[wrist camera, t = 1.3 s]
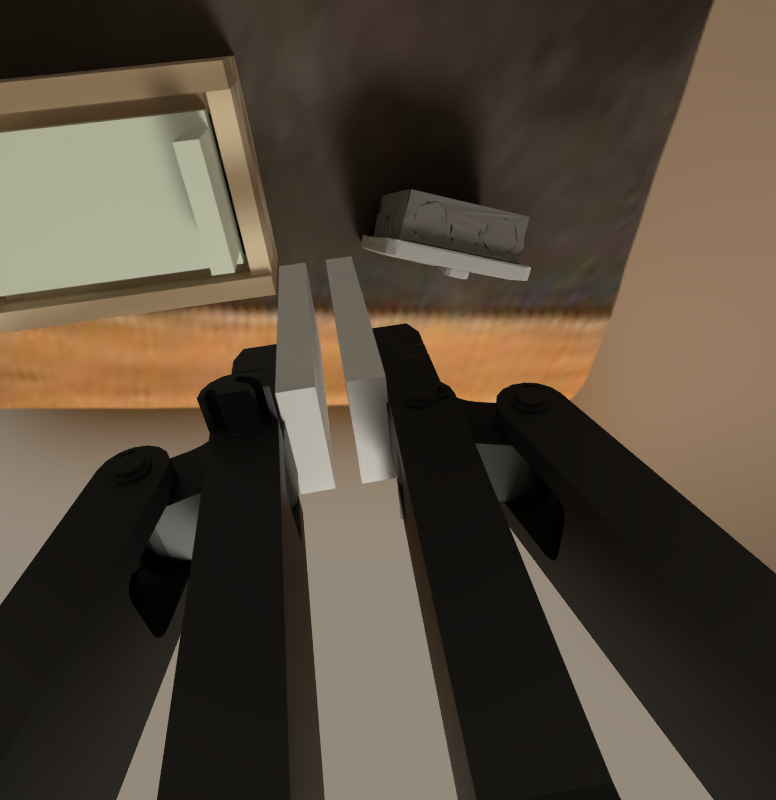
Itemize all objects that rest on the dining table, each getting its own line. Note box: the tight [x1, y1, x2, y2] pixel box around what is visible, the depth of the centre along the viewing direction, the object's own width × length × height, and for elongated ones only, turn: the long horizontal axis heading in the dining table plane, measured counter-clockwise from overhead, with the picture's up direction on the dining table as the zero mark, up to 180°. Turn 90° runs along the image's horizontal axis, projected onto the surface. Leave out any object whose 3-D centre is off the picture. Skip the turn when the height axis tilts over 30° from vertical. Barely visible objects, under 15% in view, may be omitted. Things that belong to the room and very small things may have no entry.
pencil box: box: [0, 55, 277, 333], centre depth 30 cm, size 12×16×7 cm
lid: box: [0, 108, 244, 296], centre depth 26 cm, size 8×14×4 cm, turn 95°
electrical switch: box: [361, 189, 531, 281], centre depth 34 cm, size 9×5×9 cm, turn 76°
